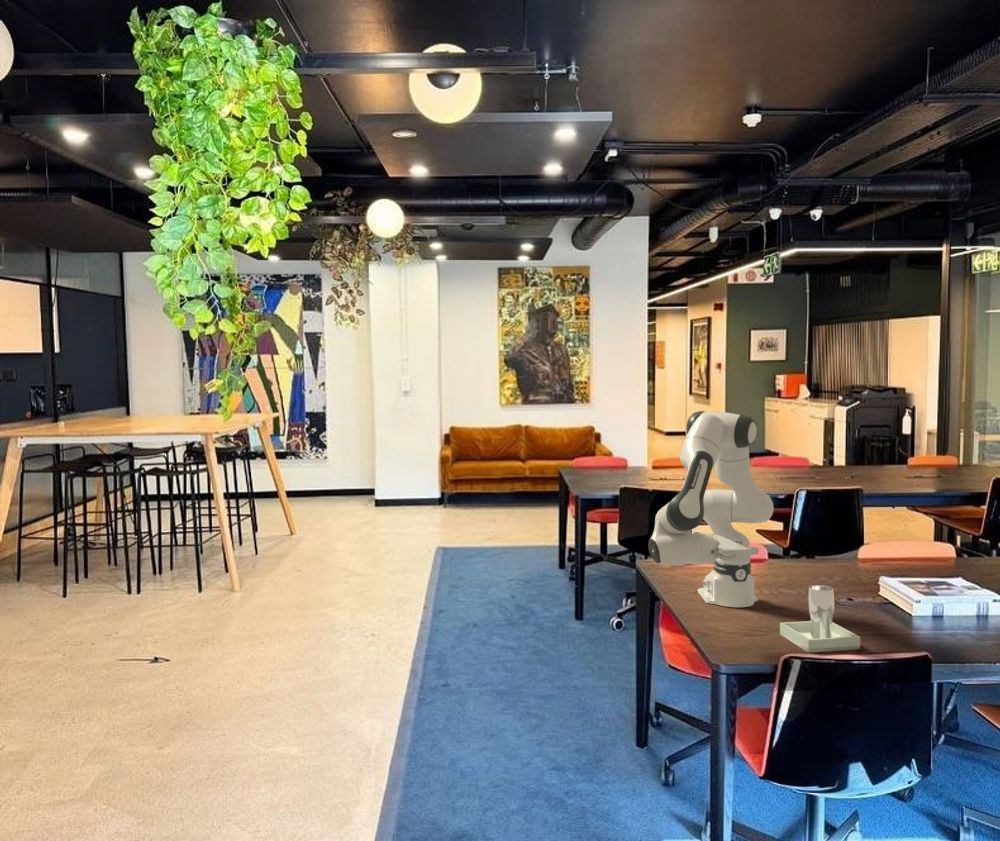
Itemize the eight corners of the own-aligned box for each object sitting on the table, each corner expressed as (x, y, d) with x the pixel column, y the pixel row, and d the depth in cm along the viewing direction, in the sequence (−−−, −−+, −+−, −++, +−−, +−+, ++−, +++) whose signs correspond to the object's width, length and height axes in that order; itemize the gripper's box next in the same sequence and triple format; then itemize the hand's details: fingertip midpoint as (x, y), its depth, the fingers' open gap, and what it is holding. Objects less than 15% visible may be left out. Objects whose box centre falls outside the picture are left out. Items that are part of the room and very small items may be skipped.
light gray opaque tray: (779, 634, 218) (780, 622, 217) (828, 631, 220) (828, 619, 220) (808, 652, 203) (808, 640, 203) (860, 649, 205) (860, 637, 205)
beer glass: (824, 634, 215) (824, 584, 214) (839, 641, 208) (839, 590, 207) (803, 636, 213) (803, 585, 213) (818, 643, 206) (817, 591, 206)
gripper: (721, 545, 198) (768, 543, 200) (690, 530, 218) (733, 529, 220) (721, 568, 199) (767, 566, 201) (690, 551, 219) (733, 549, 221)
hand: (749, 546), depth 211 cm, fingers open, 8 cm apart
